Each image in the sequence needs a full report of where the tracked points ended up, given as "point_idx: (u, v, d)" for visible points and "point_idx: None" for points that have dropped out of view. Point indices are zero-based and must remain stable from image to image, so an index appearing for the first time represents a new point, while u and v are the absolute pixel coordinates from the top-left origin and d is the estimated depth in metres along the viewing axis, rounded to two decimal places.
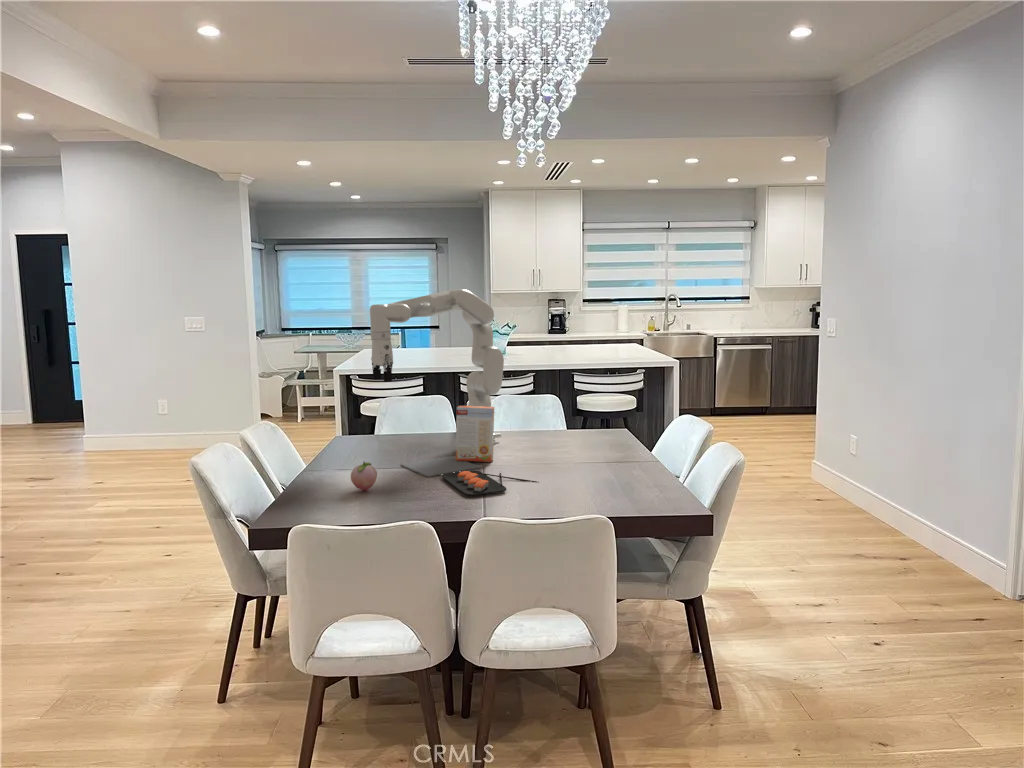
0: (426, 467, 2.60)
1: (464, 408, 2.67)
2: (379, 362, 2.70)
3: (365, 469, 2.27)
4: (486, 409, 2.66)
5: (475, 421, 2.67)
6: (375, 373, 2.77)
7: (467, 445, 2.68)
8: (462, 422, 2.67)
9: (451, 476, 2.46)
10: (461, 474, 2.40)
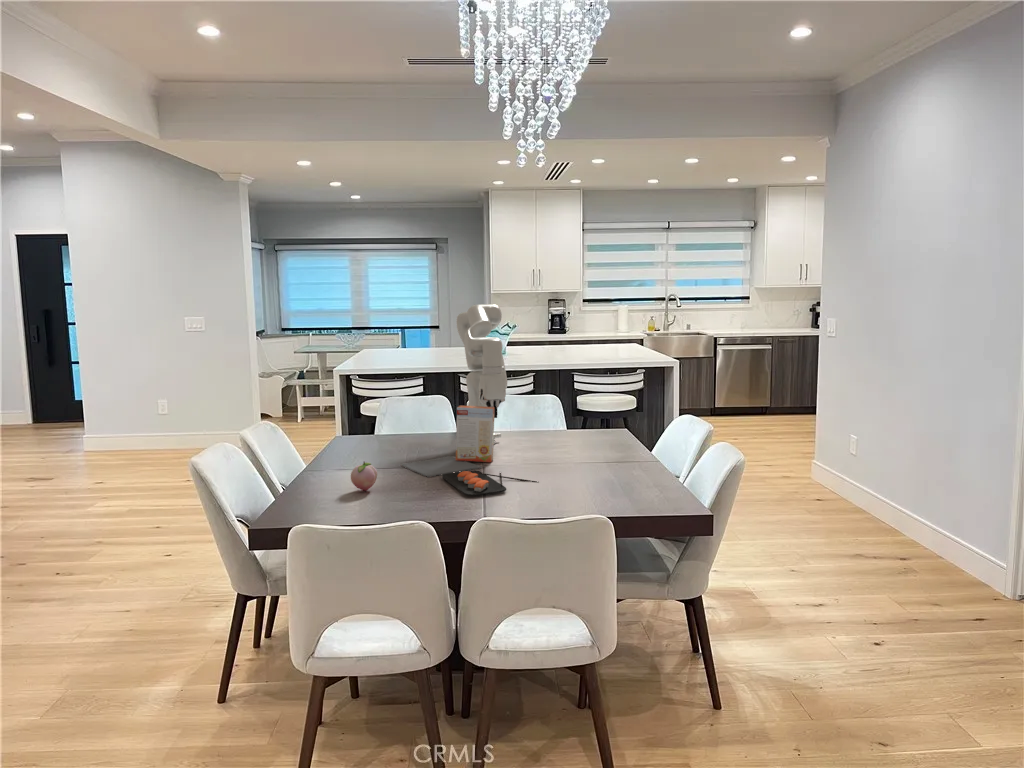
0: (426, 467, 2.60)
1: (464, 408, 2.66)
2: (501, 395, 2.72)
3: (365, 469, 2.27)
4: (487, 410, 2.66)
5: (475, 421, 2.66)
6: None
7: (467, 445, 2.67)
8: (462, 422, 2.67)
9: (451, 476, 2.46)
10: (461, 474, 2.40)
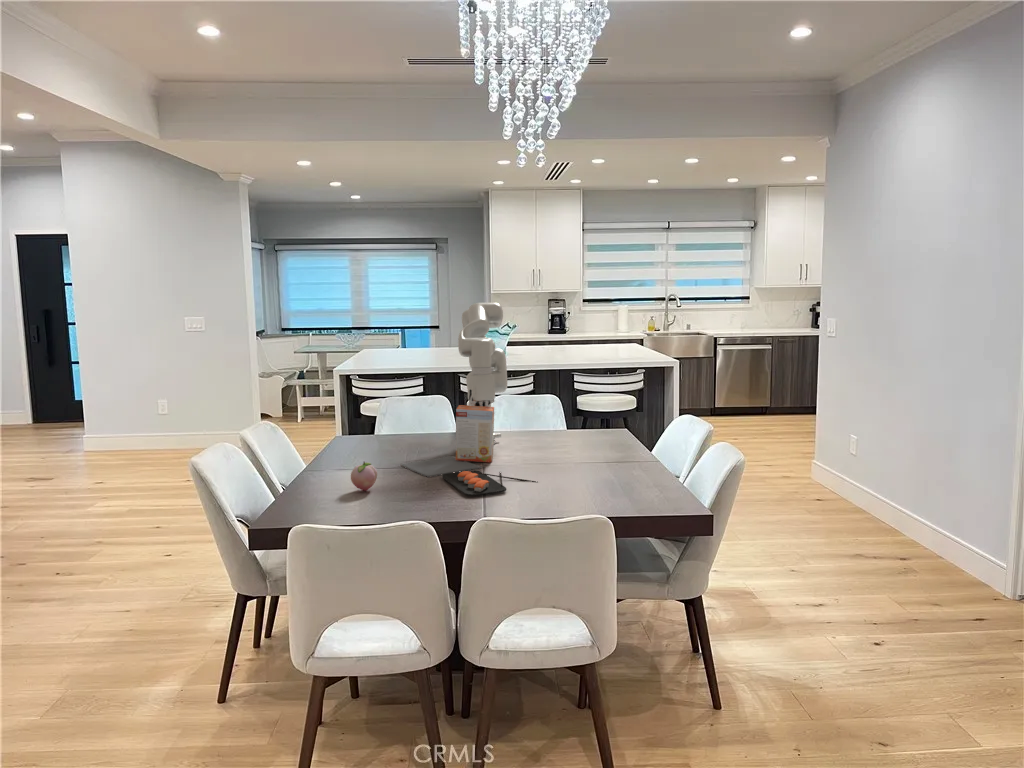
0: (426, 467, 2.60)
1: (463, 410, 2.63)
2: (490, 396, 2.70)
3: (365, 469, 2.27)
4: (486, 412, 2.62)
5: (475, 423, 2.64)
6: None
7: (467, 446, 2.66)
8: (462, 424, 2.64)
9: (451, 476, 2.46)
10: (461, 474, 2.40)
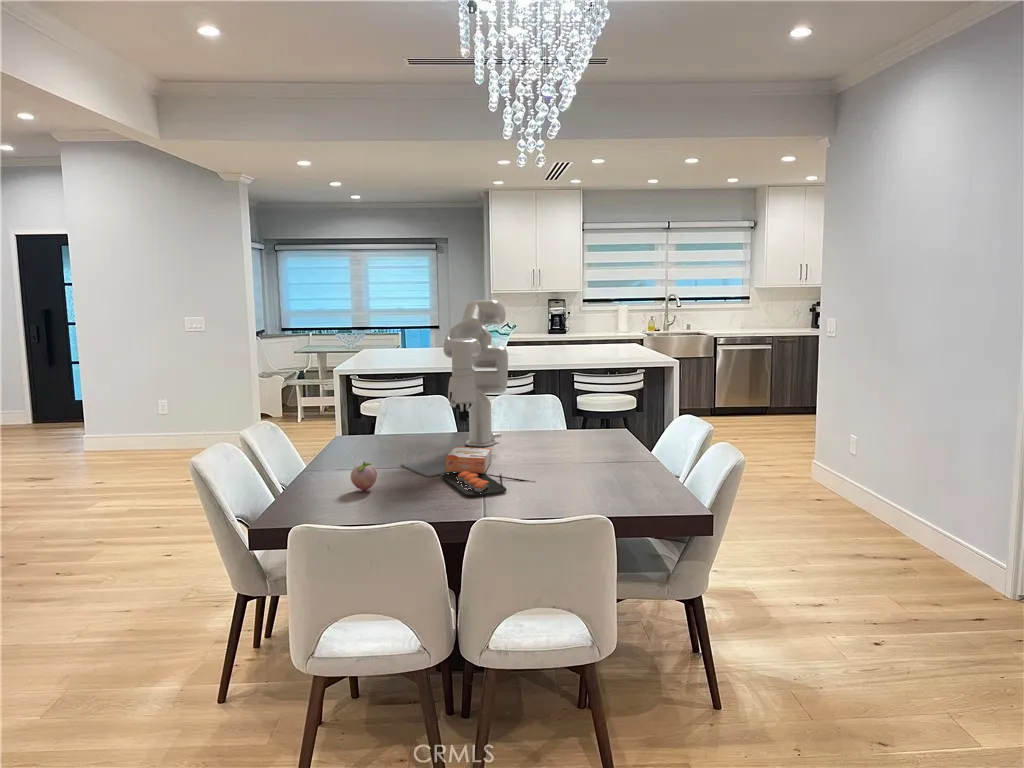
0: (426, 467, 2.60)
1: (453, 471, 2.48)
2: (471, 398, 2.65)
3: (365, 469, 2.27)
4: (477, 472, 2.47)
5: None
6: None
7: None
8: None
9: (451, 476, 2.46)
10: (461, 474, 2.40)
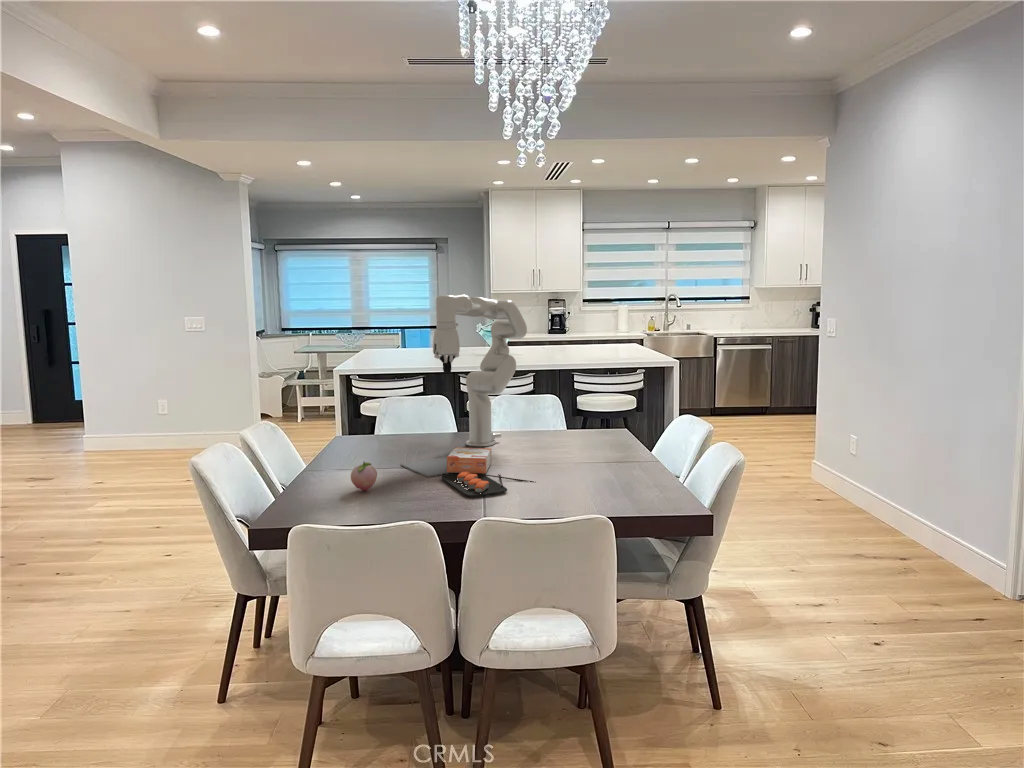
0: (426, 467, 2.60)
1: None
2: (455, 350, 2.80)
3: (365, 469, 2.27)
4: None
5: None
6: None
7: None
8: None
9: (450, 477, 2.45)
10: (461, 475, 2.39)
